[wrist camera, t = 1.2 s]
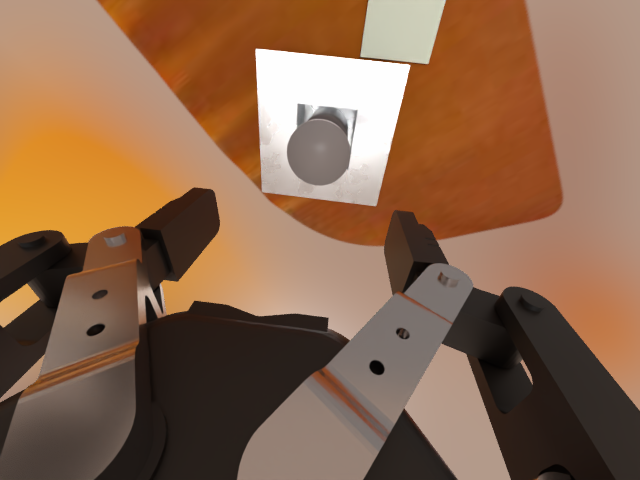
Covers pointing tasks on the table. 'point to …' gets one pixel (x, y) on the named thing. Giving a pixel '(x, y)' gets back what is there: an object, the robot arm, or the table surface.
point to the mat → (401, 29)
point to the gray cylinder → (320, 147)
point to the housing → (328, 91)
